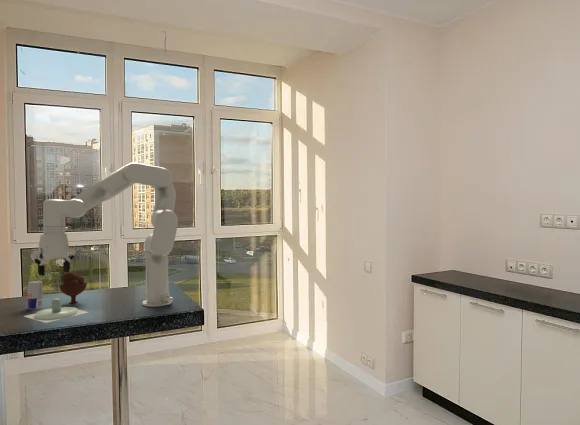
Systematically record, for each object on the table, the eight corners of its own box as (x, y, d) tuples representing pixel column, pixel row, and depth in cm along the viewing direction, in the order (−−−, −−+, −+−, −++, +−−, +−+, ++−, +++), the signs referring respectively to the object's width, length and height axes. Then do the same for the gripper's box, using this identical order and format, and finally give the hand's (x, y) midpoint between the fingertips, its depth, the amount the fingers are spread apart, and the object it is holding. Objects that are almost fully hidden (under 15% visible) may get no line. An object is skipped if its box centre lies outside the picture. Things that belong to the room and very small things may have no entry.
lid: (85, 312, 169) (85, 297, 169) (47, 321, 156) (47, 305, 156) (64, 307, 177) (64, 293, 177) (26, 316, 164) (26, 300, 164)
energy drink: (26, 309, 177) (26, 281, 177) (41, 307, 181) (40, 280, 181) (30, 312, 173) (29, 283, 173) (44, 309, 177) (43, 281, 177)
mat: (89, 314, 170) (89, 312, 169) (46, 325, 155) (46, 322, 155) (65, 308, 179) (65, 306, 178) (23, 318, 164) (22, 316, 164)
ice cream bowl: (76, 308, 179) (75, 273, 178) (53, 307, 181) (52, 273, 180) (92, 302, 189) (91, 269, 189) (71, 301, 191) (70, 269, 191)
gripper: (70, 229, 175) (70, 269, 175) (26, 231, 160) (26, 275, 161) (80, 229, 171) (80, 271, 171) (36, 232, 156) (36, 277, 157)
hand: (54, 273), depth 166 cm, fingers open, 9 cm apart
